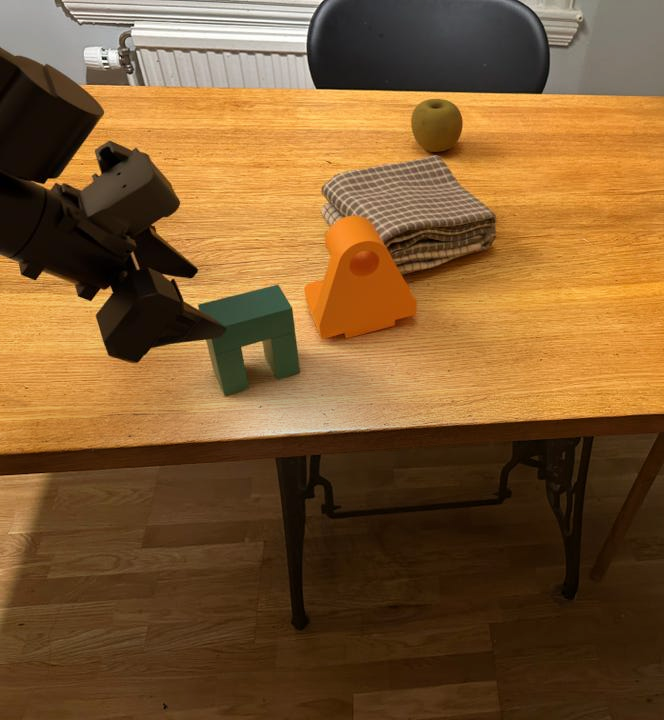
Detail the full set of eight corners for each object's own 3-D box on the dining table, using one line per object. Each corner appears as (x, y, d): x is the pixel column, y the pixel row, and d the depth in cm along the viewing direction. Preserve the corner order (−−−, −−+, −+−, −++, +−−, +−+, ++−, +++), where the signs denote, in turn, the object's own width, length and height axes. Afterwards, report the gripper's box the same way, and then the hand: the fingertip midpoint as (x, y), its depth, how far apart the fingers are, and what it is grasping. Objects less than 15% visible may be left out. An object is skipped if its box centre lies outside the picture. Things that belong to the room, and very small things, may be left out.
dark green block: (224, 396, 67) (209, 330, 62) (213, 370, 70) (197, 304, 64) (300, 372, 71) (292, 307, 65) (287, 348, 73) (278, 284, 67)
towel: (316, 226, 88) (316, 168, 83) (435, 201, 98) (441, 148, 93) (376, 289, 80) (380, 230, 75) (500, 255, 90) (511, 200, 85)
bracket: (395, 281, 82) (390, 193, 74) (417, 319, 78) (414, 230, 69) (305, 303, 79) (289, 213, 70) (322, 344, 74) (307, 253, 66)
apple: (400, 144, 109) (401, 99, 104) (441, 133, 113) (443, 89, 108) (430, 164, 105) (432, 119, 100) (470, 152, 109) (474, 108, 104)
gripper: (112, 198, 43) (301, 294, 55) (67, 82, 54) (232, 183, 66) (14, 330, 45) (217, 394, 57) (-10, 192, 56) (164, 270, 68)
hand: (208, 301), depth 62 cm, fingers open, 9 cm apart
